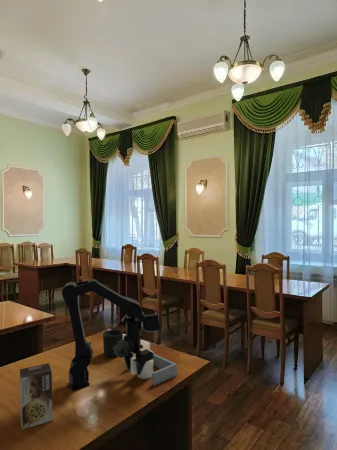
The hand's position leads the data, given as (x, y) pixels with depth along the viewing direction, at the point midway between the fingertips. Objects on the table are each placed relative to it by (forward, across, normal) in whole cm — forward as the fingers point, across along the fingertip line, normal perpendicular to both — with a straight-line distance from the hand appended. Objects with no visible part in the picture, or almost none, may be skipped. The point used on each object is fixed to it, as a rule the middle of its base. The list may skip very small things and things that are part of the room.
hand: (133, 371), depth 128 cm
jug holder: (+3, 0, +9) cm, 9 cm away
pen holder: (+3, -27, +8) cm, 28 cm away
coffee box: (+3, 0, -38) cm, 38 cm away
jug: (+3, 0, +4) cm, 5 cm away
